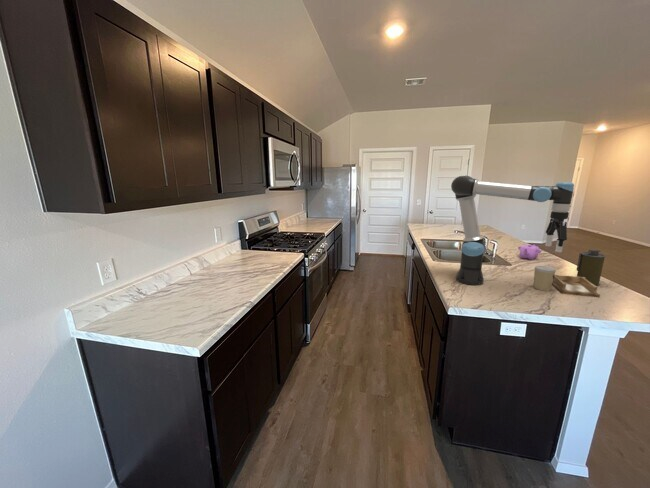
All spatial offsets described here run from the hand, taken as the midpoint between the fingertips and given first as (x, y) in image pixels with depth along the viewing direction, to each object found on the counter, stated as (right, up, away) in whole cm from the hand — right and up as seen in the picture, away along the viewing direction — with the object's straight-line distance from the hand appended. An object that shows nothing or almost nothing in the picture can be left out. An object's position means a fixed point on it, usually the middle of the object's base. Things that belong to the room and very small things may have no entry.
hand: (552, 249), depth 155 cm
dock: (+10, -23, -1) cm, 25 cm away
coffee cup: (-5, -22, +2) cm, 23 cm away
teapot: (+30, -8, +59) cm, 67 cm away
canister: (+27, -20, +9) cm, 35 cm away
